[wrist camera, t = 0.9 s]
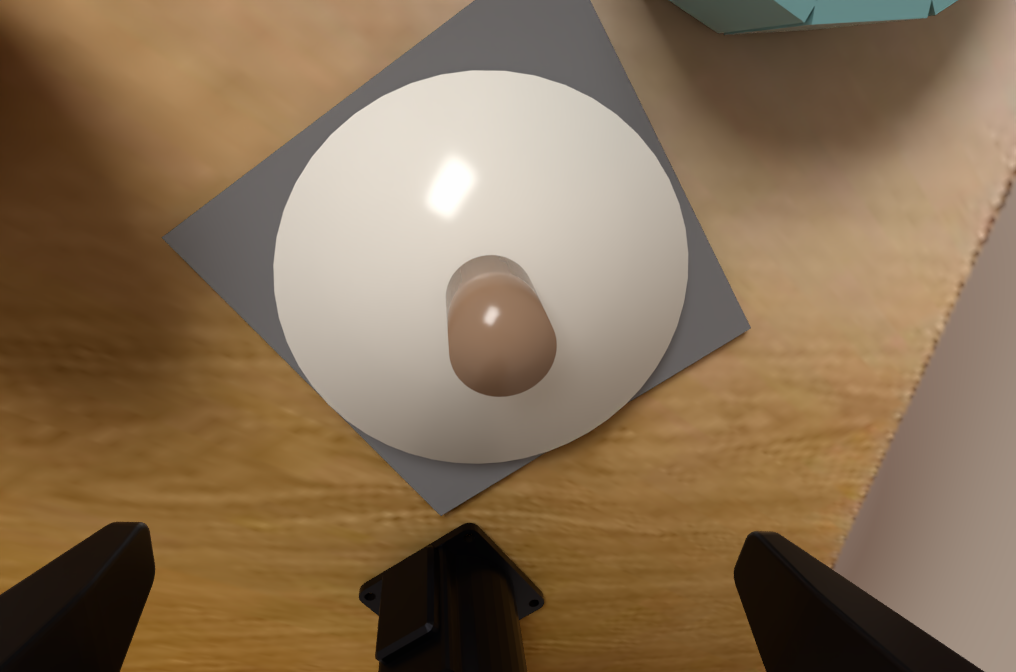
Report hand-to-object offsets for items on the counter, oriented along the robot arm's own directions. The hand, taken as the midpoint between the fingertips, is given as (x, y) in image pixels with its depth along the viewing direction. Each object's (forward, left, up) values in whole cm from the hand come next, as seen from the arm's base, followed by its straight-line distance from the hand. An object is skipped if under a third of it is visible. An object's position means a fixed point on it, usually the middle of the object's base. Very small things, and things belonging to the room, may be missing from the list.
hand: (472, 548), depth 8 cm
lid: (-1, -1, -12) cm, 12 cm away
